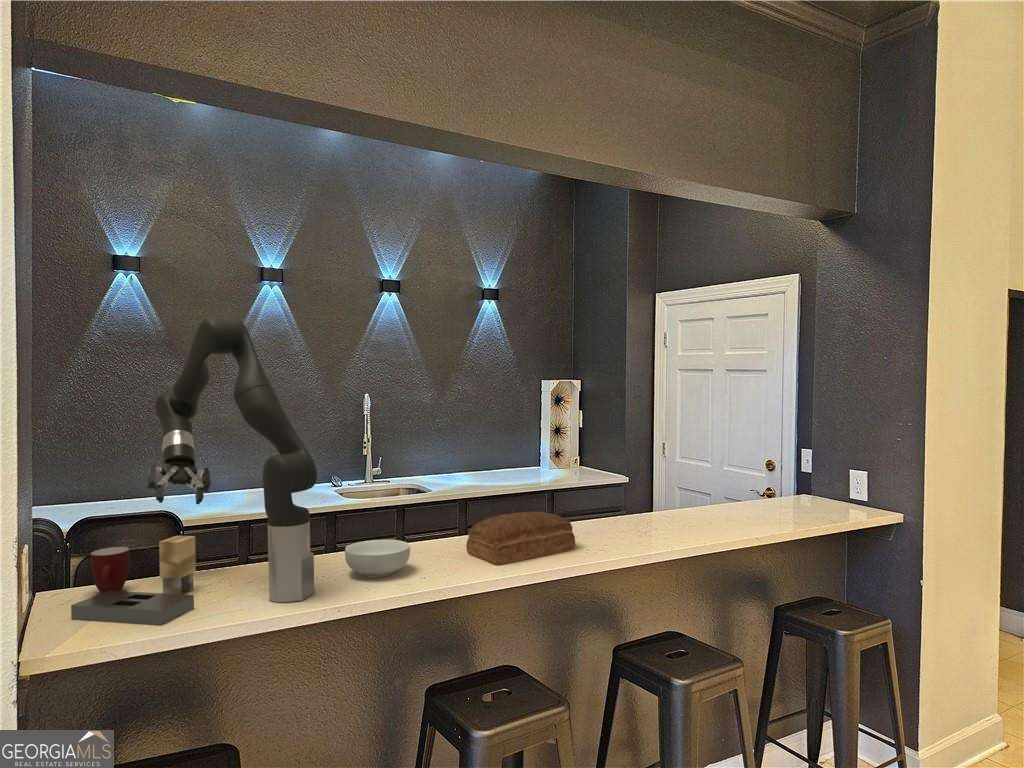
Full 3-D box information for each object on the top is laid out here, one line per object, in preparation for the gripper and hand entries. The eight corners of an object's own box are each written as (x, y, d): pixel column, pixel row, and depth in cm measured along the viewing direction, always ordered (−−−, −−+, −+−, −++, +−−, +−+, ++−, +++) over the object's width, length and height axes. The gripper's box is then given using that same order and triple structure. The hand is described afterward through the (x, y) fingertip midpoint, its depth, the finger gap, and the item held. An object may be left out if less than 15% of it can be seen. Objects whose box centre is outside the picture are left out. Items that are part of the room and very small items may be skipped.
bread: (463, 554, 189) (462, 515, 189) (544, 539, 206) (543, 502, 206) (495, 568, 175) (495, 525, 175) (579, 550, 192) (579, 511, 192)
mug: (129, 597, 154) (128, 555, 154) (88, 603, 151) (87, 559, 151) (131, 585, 164) (130, 545, 164) (92, 590, 160) (92, 549, 160)
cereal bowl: (420, 575, 169) (420, 548, 168) (357, 587, 160) (356, 558, 160) (396, 560, 183) (396, 535, 183) (337, 570, 175) (336, 543, 174)
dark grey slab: (193, 608, 146) (193, 595, 146) (161, 625, 136) (161, 610, 136) (108, 603, 150) (108, 590, 150) (71, 619, 141) (71, 605, 141)
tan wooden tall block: (196, 589, 159) (195, 536, 159) (178, 597, 154) (178, 542, 154) (177, 588, 160) (177, 535, 160) (160, 596, 155) (159, 541, 154)
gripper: (151, 439, 167) (152, 491, 157) (211, 444, 176) (215, 493, 166) (144, 458, 171) (144, 509, 161) (203, 462, 180) (206, 511, 170)
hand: (180, 501), depth 163 cm, fingers open, 8 cm apart
